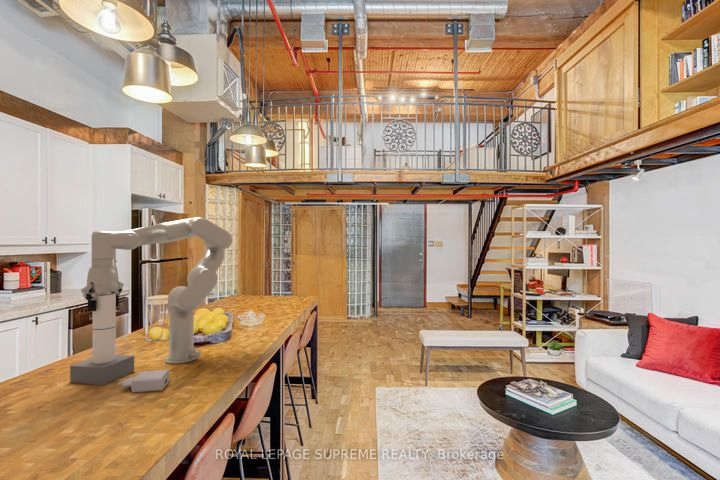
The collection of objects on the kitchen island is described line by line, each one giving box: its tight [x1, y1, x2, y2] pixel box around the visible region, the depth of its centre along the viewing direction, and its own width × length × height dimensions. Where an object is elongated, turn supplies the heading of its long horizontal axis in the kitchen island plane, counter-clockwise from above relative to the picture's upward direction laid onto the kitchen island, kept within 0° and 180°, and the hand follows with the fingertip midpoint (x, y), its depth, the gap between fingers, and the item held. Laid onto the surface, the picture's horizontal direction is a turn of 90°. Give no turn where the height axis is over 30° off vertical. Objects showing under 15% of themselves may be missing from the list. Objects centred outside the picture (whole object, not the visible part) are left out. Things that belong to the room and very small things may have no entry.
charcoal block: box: [69, 354, 135, 386], centre depth 137 cm, size 14×14×6 cm
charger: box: [117, 369, 171, 393], centre depth 127 cm, size 5×9×15 cm
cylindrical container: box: [92, 293, 117, 364], centre depth 137 cm, size 7×7×25 cm
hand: (103, 308), depth 137 cm, fingers open, 9 cm apart
